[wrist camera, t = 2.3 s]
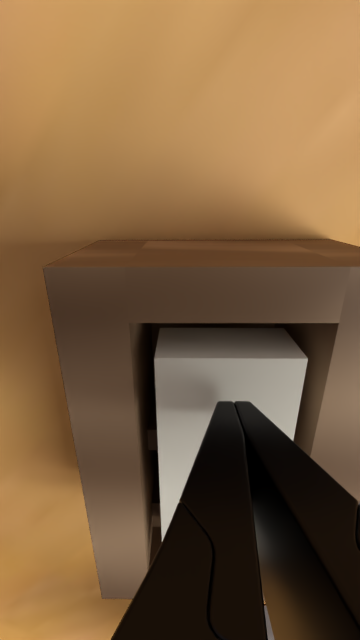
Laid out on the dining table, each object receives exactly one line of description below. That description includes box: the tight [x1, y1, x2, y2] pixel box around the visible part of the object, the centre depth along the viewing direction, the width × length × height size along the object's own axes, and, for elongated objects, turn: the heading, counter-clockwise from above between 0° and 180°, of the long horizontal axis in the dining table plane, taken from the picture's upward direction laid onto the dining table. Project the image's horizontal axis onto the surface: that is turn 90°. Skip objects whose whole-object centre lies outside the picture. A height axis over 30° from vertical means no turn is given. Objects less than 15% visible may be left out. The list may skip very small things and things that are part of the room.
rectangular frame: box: [43, 240, 360, 601], centre depth 12 cm, size 13×9×5 cm
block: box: [154, 328, 308, 541], centre depth 10 cm, size 9×4×2 cm, turn 0°
